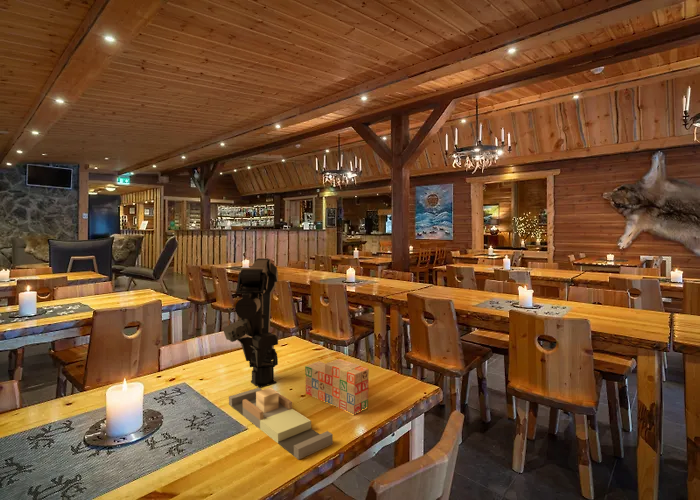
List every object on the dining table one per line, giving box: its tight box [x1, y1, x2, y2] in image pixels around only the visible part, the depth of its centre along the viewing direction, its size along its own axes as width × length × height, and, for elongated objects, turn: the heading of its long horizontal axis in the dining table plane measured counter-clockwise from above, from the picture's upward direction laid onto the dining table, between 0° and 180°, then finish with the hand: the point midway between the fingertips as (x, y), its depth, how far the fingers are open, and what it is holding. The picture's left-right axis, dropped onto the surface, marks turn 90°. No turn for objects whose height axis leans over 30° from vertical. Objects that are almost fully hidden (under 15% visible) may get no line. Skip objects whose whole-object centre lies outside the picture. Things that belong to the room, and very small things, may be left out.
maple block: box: [256, 387, 279, 413], centre depth 111 cm, size 4×4×4 cm
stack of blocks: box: [304, 358, 370, 414], centre depth 121 cm, size 21×6×12 cm, turn 47°
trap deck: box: [228, 387, 334, 460], centre depth 108 cm, size 10×37×4 cm, turn 41°
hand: (253, 363), depth 117 cm, fingers open, 6 cm apart
